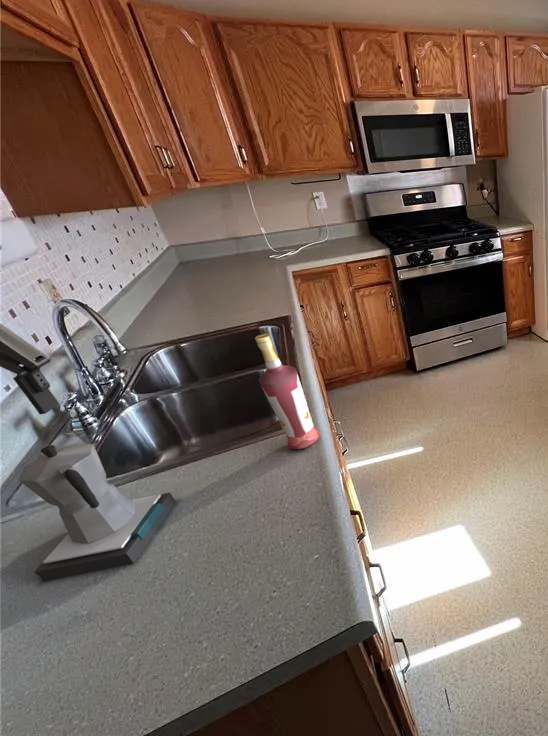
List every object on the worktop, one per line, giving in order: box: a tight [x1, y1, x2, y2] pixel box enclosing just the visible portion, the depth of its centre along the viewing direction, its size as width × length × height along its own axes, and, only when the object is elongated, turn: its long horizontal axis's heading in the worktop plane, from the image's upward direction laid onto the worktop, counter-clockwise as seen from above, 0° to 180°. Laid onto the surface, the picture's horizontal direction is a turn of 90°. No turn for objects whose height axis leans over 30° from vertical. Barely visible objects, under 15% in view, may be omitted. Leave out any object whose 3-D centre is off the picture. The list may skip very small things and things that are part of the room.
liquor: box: [254, 333, 320, 450], centre depth 91 cm, size 7×7×28 cm
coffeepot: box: [17, 442, 135, 543], centre depth 71 cm, size 15×9×18 cm, turn 59°
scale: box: [33, 492, 177, 582], centre depth 76 cm, size 14×14×3 cm
